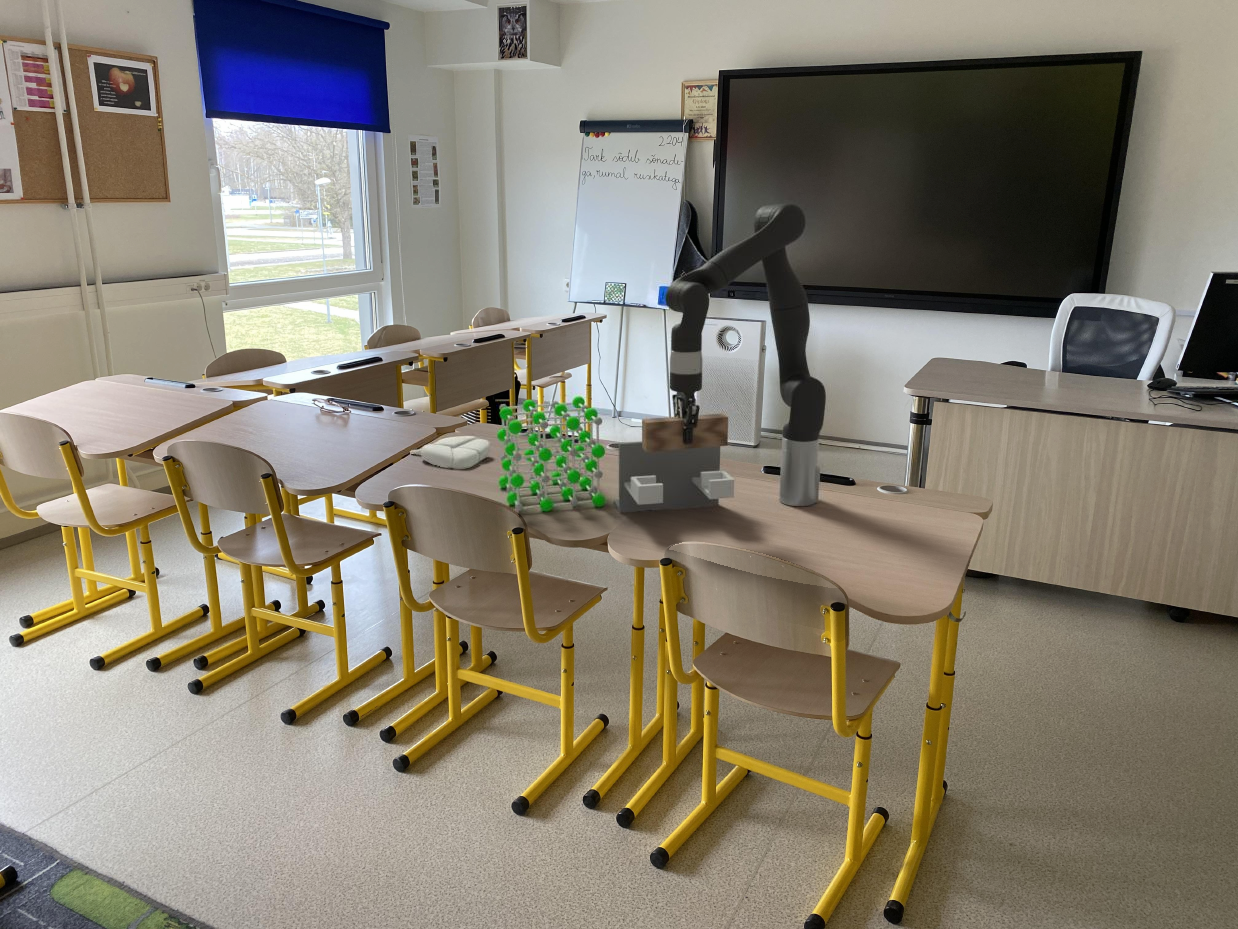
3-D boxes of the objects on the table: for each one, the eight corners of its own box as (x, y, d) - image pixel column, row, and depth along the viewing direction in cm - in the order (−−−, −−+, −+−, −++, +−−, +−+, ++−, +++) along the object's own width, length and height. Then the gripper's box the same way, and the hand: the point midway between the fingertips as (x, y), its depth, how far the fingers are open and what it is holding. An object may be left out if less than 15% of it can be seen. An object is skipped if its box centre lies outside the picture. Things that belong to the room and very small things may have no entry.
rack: (709, 496, 242) (711, 430, 237) (737, 524, 222) (740, 453, 217) (613, 503, 237) (613, 436, 231) (633, 533, 217) (633, 460, 211)
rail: (722, 441, 220) (723, 413, 218) (727, 445, 217) (728, 416, 215) (642, 447, 216) (642, 419, 214) (646, 452, 213) (646, 422, 211)
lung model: (467, 471, 264) (395, 469, 273) (496, 456, 279) (427, 455, 289) (464, 449, 262) (392, 448, 272) (494, 435, 278) (424, 434, 287)
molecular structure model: (512, 516, 228) (509, 422, 221) (498, 486, 251) (494, 400, 244) (606, 508, 234) (606, 415, 227) (584, 479, 257) (583, 394, 250)
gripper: (711, 374, 205) (709, 448, 210) (692, 363, 219) (690, 432, 224) (679, 376, 204) (678, 450, 209) (661, 364, 217) (661, 435, 222)
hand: (685, 441), depth 216 cm, fingers closed on rail, 3 cm apart
